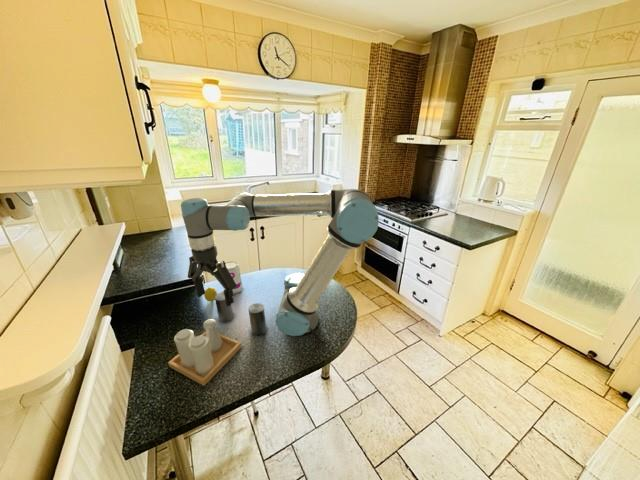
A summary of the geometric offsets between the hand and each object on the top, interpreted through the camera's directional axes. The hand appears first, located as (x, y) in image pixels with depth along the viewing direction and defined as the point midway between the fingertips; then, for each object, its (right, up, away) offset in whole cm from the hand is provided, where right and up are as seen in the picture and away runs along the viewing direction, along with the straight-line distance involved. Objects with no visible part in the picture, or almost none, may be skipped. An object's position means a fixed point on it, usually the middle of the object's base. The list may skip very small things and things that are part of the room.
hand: (215, 299), depth 92 cm
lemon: (-15, -9, +33) cm, 37 cm away
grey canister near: (+12, -17, +15) cm, 25 cm away
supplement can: (-7, -5, +41) cm, 42 cm away
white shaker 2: (-3, -24, -2) cm, 24 cm away
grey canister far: (-4, -13, +22) cm, 26 cm away
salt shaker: (-2, -20, +6) cm, 21 cm away
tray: (-4, -22, +3) cm, 23 cm away
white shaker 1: (-9, -22, 0) cm, 24 cm away
